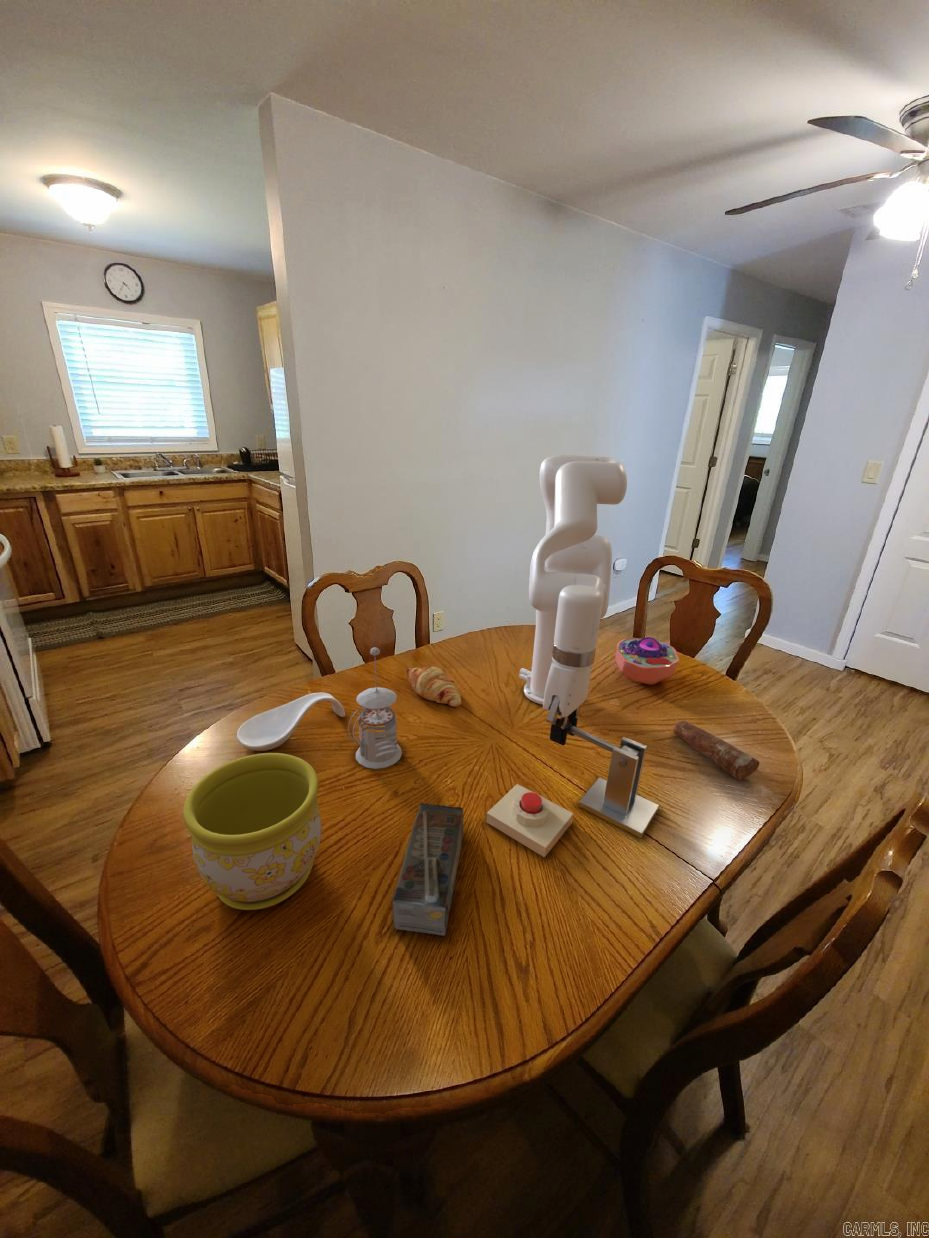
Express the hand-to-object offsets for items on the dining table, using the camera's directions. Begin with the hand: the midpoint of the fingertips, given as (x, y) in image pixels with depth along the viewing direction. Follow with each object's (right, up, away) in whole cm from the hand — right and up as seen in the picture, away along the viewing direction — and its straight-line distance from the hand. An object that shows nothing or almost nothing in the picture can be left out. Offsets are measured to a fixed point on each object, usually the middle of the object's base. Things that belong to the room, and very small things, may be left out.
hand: (562, 736), depth 98 cm
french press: (-38, -6, +9) cm, 39 cm away
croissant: (-28, +3, +33) cm, 43 cm away
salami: (+34, -7, +12) cm, 37 cm away
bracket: (+10, -13, -3) cm, 16 cm away
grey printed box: (-24, -18, -19) cm, 36 cm away
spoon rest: (-58, -3, +15) cm, 60 cm away
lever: (+5, -1, -4) cm, 6 cm away
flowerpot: (-50, -17, -19) cm, 56 cm away
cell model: (+31, +6, +45) cm, 55 cm away
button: (-7, -10, -9) cm, 16 cm away
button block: (-8, -14, -8) cm, 17 cm away
